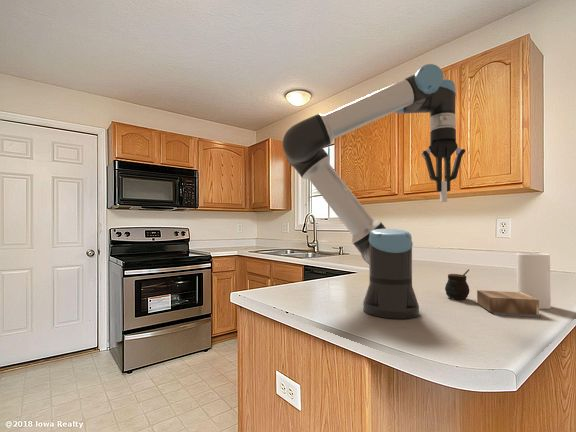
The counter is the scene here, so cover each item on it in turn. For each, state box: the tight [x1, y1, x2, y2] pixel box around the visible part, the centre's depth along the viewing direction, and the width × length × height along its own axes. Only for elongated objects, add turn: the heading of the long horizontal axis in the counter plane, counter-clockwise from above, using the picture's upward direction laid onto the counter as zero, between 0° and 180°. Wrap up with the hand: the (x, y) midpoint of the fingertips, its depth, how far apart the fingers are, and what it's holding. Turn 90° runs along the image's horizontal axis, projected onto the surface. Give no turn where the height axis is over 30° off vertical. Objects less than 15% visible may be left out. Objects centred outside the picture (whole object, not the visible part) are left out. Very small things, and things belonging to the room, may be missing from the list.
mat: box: [491, 312, 542, 318], centre depth 93 cm, size 11×13×1 cm
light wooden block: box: [476, 289, 540, 315], centre depth 93 cm, size 4×10×12 cm
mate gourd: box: [444, 268, 470, 301], centre depth 107 cm, size 7×8×10 cm
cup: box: [515, 252, 552, 310], centre depth 98 cm, size 8×8×16 cm
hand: (443, 201), depth 103 cm, fingers closed
